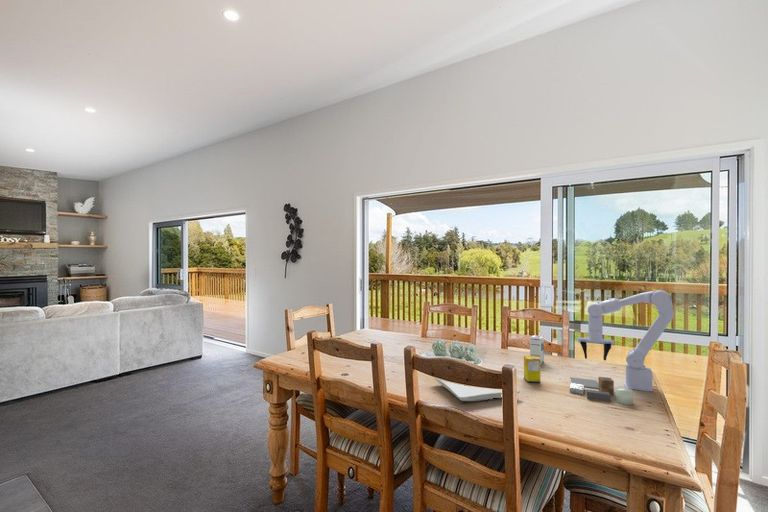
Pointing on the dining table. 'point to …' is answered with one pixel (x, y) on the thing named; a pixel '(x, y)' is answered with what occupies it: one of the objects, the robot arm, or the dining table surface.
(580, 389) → the grey topped wooden block
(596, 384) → the slate coaster
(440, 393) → the dining table surface
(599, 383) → the walnut block
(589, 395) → the charcoal rubber bar
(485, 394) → the square plate
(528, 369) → the supplement box
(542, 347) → the syrup box
